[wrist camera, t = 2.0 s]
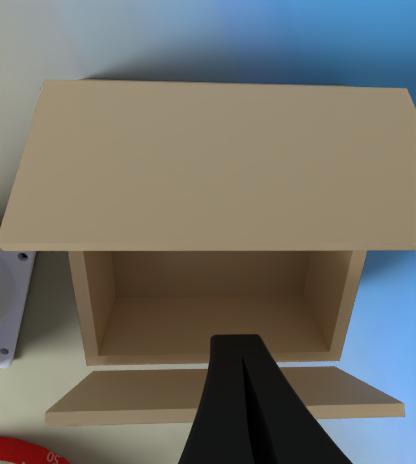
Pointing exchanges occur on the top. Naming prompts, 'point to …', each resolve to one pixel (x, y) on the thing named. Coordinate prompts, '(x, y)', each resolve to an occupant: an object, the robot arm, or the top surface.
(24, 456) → the kitchen timer
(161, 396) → the far flap
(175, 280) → the carton
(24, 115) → the top surface
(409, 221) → the near flap
